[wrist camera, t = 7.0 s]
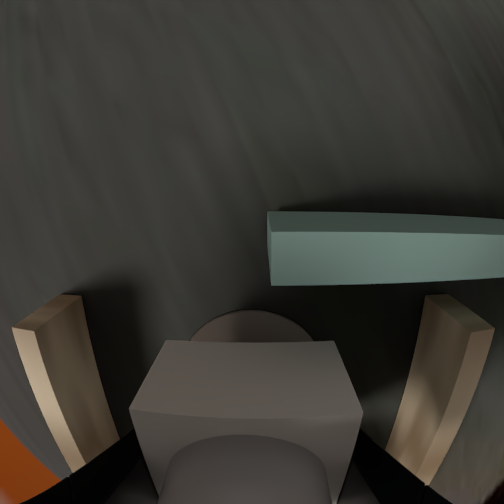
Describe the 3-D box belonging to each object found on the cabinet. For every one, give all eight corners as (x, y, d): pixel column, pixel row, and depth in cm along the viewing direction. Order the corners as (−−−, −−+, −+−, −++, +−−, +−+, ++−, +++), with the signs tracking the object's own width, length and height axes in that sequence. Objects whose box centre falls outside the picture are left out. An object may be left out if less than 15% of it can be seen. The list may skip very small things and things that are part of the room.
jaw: (333, 340, 8) (393, 491, 3) (317, 451, 9) (338, 575, 4) (166, 340, 8) (91, 481, 3) (185, 449, 9) (154, 571, 4)
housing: (382, 494, 13) (394, 534, 10) (126, 491, 13) (112, 530, 10) (447, 293, 10) (495, 328, 7) (60, 294, 10) (11, 327, 7)
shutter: (568, 246, 9) (619, 266, 6) (267, 246, 9) (271, 285, 6) (571, 217, 9) (624, 231, 5) (267, 199, 9) (271, 212, 6)
